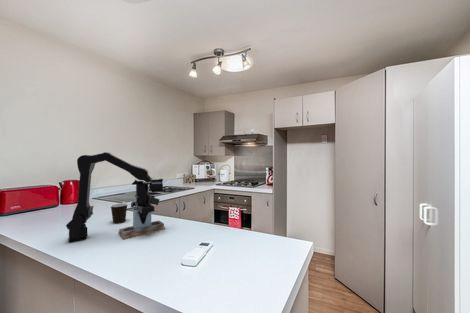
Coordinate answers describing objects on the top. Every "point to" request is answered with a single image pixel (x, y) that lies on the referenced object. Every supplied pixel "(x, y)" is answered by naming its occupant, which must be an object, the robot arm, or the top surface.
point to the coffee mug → (119, 213)
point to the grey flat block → (137, 220)
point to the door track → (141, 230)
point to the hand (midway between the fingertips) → (142, 222)
